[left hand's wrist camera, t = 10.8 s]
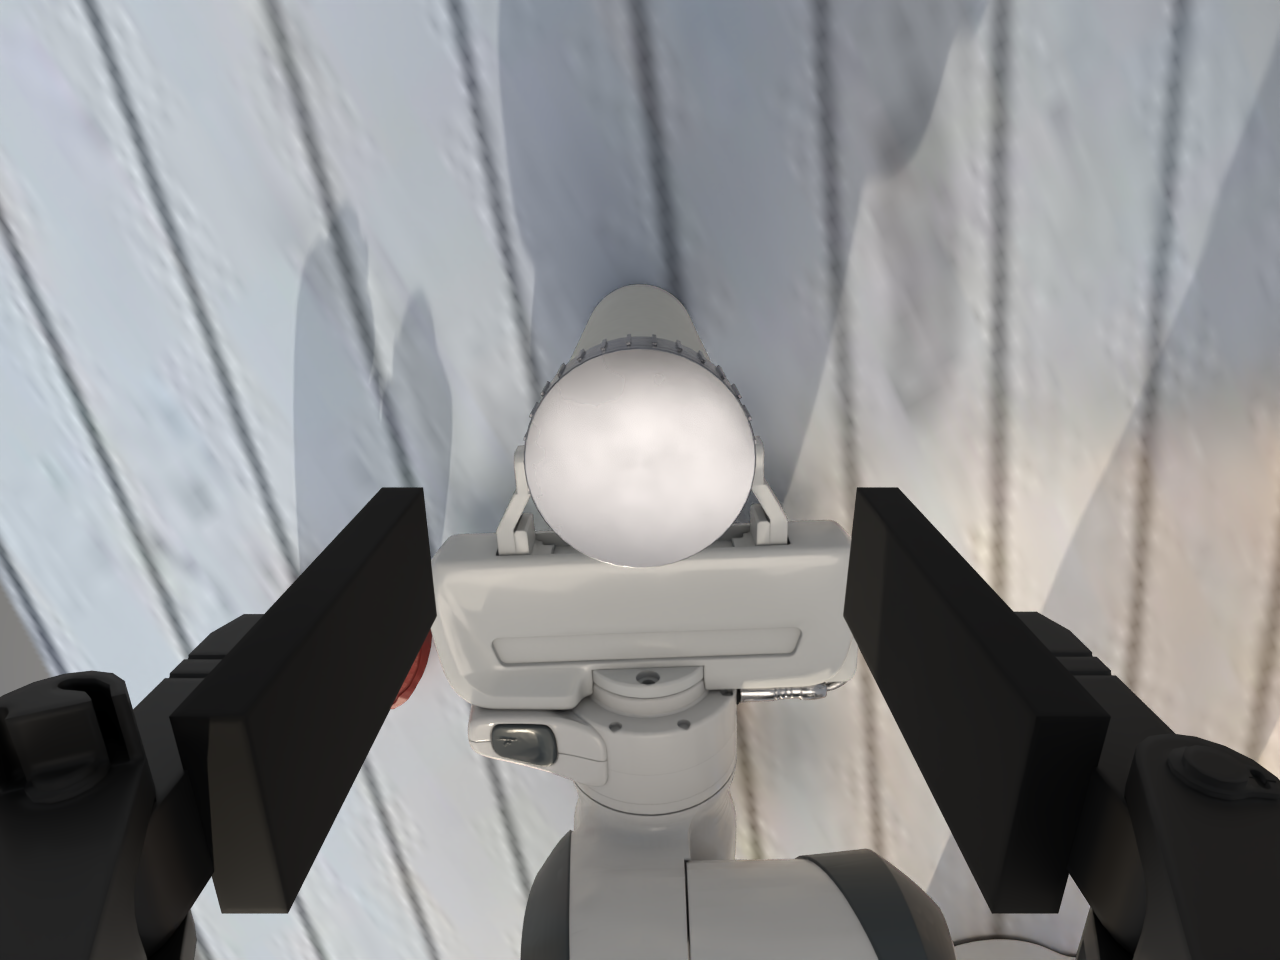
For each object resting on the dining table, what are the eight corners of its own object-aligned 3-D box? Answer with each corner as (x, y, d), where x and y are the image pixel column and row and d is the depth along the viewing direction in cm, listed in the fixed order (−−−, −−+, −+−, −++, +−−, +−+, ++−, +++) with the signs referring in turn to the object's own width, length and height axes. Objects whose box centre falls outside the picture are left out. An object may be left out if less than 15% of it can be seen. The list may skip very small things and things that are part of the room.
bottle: (589, 394, 38) (545, 556, 20) (582, 286, 36) (526, 359, 18) (694, 390, 38) (743, 549, 20) (693, 281, 36) (745, 350, 18)
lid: (539, 546, 22) (531, 575, 20) (519, 337, 20) (508, 349, 18) (747, 539, 22) (757, 567, 20) (750, 328, 19) (761, 339, 18)
